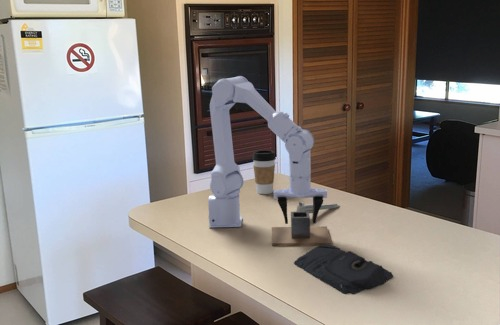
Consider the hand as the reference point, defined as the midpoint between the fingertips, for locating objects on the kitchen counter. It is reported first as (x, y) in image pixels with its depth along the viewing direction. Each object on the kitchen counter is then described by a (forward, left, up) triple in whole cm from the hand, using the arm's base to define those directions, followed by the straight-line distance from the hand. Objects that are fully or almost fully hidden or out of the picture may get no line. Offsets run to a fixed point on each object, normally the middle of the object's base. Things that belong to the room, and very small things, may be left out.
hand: (300, 222), depth 146 cm
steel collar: (0, 0, -4) cm, 4 cm away
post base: (0, 0, -5) cm, 5 cm away
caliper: (+7, +19, -5) cm, 21 cm away
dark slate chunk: (+9, -21, -5) cm, 23 cm away
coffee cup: (-10, +43, -5) cm, 44 cm away
